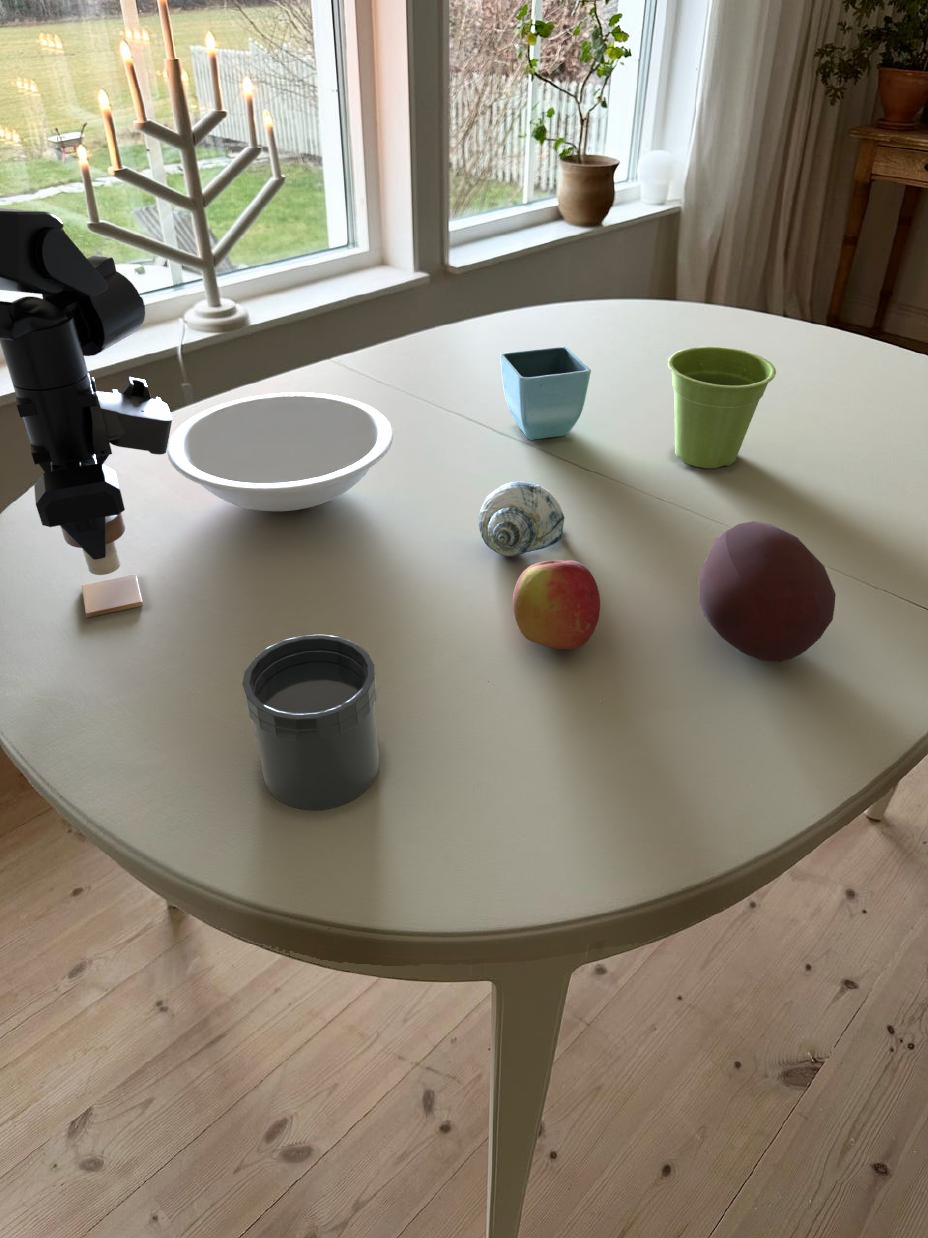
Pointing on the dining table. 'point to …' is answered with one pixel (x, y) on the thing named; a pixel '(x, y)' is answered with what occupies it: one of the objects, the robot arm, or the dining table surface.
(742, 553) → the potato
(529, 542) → the seashell
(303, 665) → the container
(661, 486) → the dining table surface
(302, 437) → the soup bowl
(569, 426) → the flower pot
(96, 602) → the plate
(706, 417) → the plant pot
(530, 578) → the apple
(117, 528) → the mushroom
